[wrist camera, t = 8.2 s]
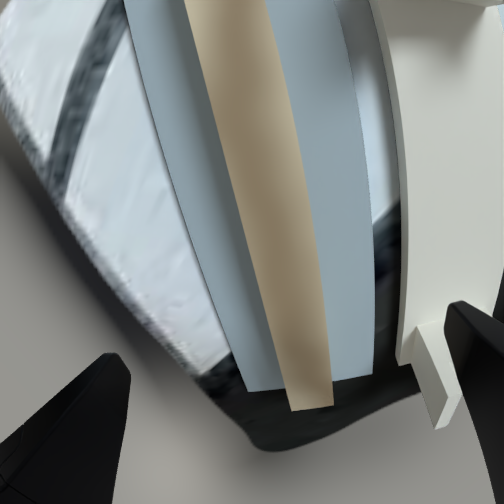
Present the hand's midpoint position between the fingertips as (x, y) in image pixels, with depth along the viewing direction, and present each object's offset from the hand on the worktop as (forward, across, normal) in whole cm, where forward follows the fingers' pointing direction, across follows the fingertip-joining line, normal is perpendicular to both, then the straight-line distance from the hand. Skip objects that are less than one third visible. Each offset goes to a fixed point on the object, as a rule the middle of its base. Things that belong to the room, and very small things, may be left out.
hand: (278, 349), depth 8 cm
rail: (+10, 0, 0) cm, 10 cm away
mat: (+11, 0, 0) cm, 11 cm away
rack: (+11, -11, 0) cm, 15 cm away
